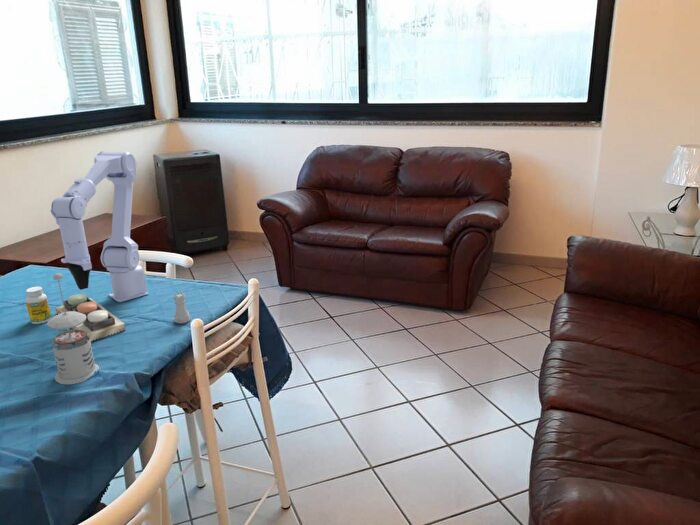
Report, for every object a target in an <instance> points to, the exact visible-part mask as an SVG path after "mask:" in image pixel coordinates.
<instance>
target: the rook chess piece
mask: <svg viewBox="0 0 700 525" xmlns="http://www.w3.org/2000/svg"><path fill="white" fill-rule="evenodd" d="M186 296H187V295H185V293H184V292H180V293H179V292H177V293H174V296H173V300H175V303H174V304H175V307H176V308H175V313H174V316H173V318H174V323H176V324H180V325H181V324H185V323H188V322H190V320H191V314H190V312H189V311H188V310H187V306H186V301H185V300H186V298H187V297H186Z"/></svg>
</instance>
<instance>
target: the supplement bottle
mask: <svg viewBox="0 0 700 525" xmlns="http://www.w3.org/2000/svg"><path fill="white" fill-rule="evenodd" d="M25 294H26V296H27V297H26V298H25V301H24V302H25V305H26V310H27V313H28V317H29V321H30V323H31V324H33V325H41V323H42V324H45V323H48V321H49V320H50V319H51V318H52V313H51V308H50V305H49V300H48V297H47V295H46V294H45V293H44V292H43V287H42V286H32V287H30V288H29V287H28V288H27V289H26V290H25Z"/></svg>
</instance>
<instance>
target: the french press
mask: <svg viewBox="0 0 700 525" xmlns="http://www.w3.org/2000/svg"><path fill="white" fill-rule="evenodd" d="M52 276H53V277H52V278H53V280H54V281H58V282H57V283H58V287H59V292H60V298H61V300H62V301H61V302H62V306H63V307H64V313H60V314H58V315H57V314H56V315H53V317H52V316H51V319H50V320H49V321H47V322H46V325H47V327H49V328H51V329H52V330H65V331H62V332H59V333H57V334H55V336H54V337H53V338H52V342H53V344H52V351H53V355H54V360H55V364H56V368H57V373H56V375H55V376H54V380H55V382H56V383H58V384H61V385H74V384H76V383H77V384H80V383H79V382H81V383H83V382H82V381H84V380H86V379H87V378H89V377H90V376H92V375H93V374H94V372H95V371H97V369H99V367H100V365H99V364H97V363H95V359H94V352H93V348H92V341H90V338H89V337H88V336H87V332H86V331H85V330H82V329H81V330H79V329H76V326H78V325H80V324H82V323H83V322H85V320H86V315H85V314H82V313H79V312H75V311H69V312H66V311H65V306H64V302H63V301H64V299H63V298H64V297H63V291H62V288H61V283H60V280H62V279H63V278H64V277H63V274H62V273H60V272H58V273H54V274H53V275H52ZM72 327H75V329H73V328H72ZM86 340H89V341H88V342H87V341H86ZM73 344H75V348H73ZM59 346H60V347H59ZM56 347H58V348H56ZM89 351H90V352H89ZM57 358H58V359H57ZM98 365H99V366H98ZM84 382H85V381H84Z"/></svg>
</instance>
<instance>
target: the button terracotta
mask: <svg viewBox="0 0 700 525" xmlns="http://www.w3.org/2000/svg"><path fill="white" fill-rule="evenodd" d="M77 310H78V312H79V313H82V314H87V313H90V312H93V311H97V310H98V309H97V304H96V303H95V302H85V303H82V304H79V305H78V306H77Z"/></svg>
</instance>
